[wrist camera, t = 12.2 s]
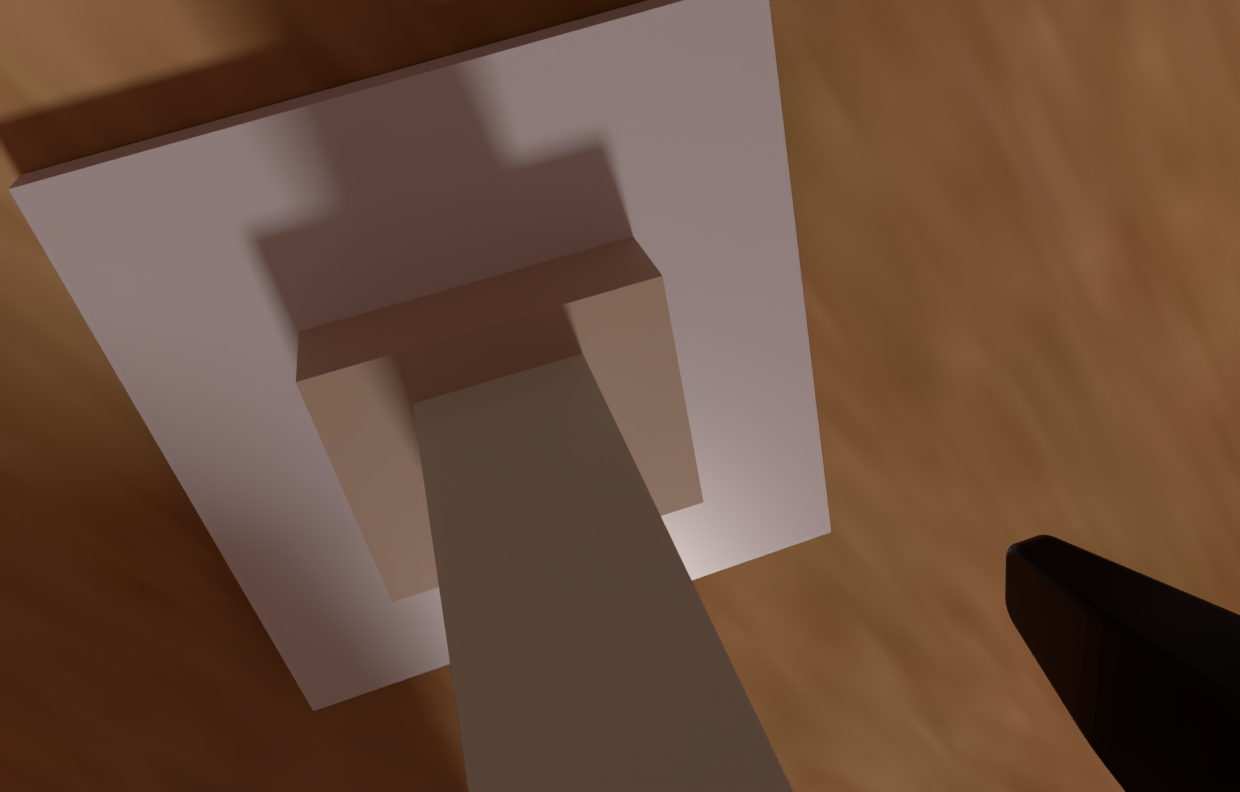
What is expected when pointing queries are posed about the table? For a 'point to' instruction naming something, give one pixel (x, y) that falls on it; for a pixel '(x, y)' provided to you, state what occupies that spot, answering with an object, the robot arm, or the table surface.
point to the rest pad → (447, 286)
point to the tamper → (543, 521)
